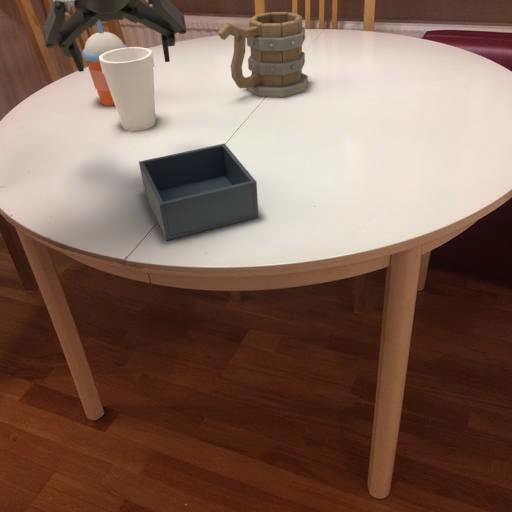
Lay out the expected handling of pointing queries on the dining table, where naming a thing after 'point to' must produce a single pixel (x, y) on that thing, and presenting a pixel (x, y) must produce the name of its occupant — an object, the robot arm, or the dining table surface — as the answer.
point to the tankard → (269, 54)
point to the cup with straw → (91, 53)
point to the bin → (199, 190)
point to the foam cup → (131, 85)
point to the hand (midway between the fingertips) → (123, 58)
